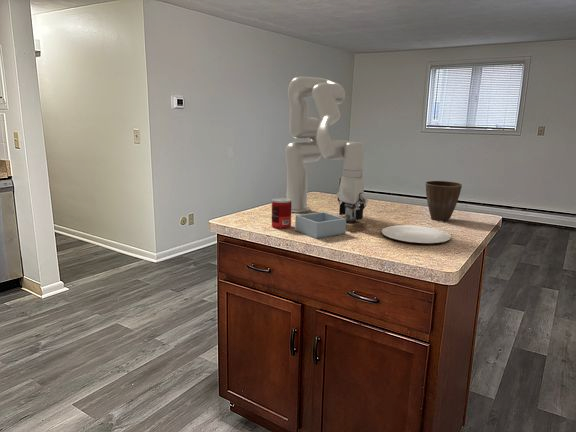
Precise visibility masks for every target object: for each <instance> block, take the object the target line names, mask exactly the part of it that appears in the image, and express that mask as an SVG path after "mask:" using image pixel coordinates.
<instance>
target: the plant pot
mask: <svg viewBox="0 0 576 432" xmlns="http://www.w3.org/2000/svg"><path fill="white" fill-rule="evenodd" d="M462 187H463V184H462V183H460V182H454V181H446V180H431V181H426V182H425V194H426V202H427V206H428V212H429V214H430V218H431V220H433V221H436V222H437V221H438V222H449V221H450V219H451V218H452V215H453V213H454V211H455V208H456V207H457V203H458V201H459V198H460V195H461V191H462Z"/></svg>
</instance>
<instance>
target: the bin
mask: <svg viewBox="0 0 576 432" xmlns="http://www.w3.org/2000/svg"><path fill="white" fill-rule="evenodd" d="M294 226H295V229H294V231H295V232H297V233H300V234H303V235H305V236H308V237H310V238H313V239H315V240H319V239H325V238H331V237H337V236H344V235H346V232H347V231H346V219H345V217H341V216H340V215H339V216H338V215H334V214H332V213H328V212H326V211H323V212H322V211H320V212H311V213H307V214H297V215H295V225H294Z"/></svg>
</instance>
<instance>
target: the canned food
mask: <svg viewBox="0 0 576 432" xmlns="http://www.w3.org/2000/svg"><path fill="white" fill-rule="evenodd" d="M291 205H292V201H291V199H289V198H287V197H275V198H272V199H271V227H272V228H273V229H277V230H278V229H279V230H286V229H290V228H291V225H292V212H291Z"/></svg>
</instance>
